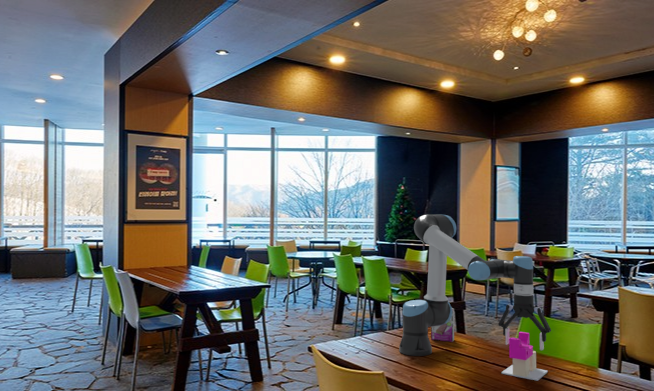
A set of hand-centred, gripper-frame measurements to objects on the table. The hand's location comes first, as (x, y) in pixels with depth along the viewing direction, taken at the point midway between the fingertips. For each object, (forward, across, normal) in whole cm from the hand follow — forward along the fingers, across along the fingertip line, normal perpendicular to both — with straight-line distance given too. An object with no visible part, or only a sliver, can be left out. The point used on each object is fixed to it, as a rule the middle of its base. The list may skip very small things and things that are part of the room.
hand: (524, 346), depth 202 cm
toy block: (+3, 0, -2) cm, 4 cm away
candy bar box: (+11, -50, +29) cm, 59 cm away
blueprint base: (+10, 0, 0) cm, 10 cm away
